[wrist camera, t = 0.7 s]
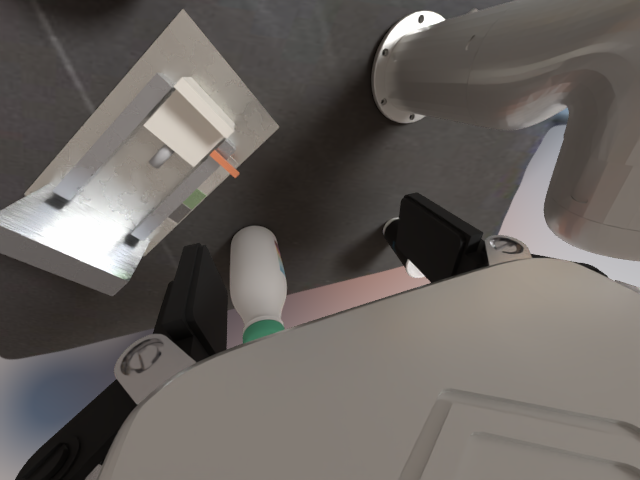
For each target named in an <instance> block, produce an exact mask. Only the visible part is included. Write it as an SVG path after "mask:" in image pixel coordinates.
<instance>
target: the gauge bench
mask: <svg viewBox="0 0 640 480" xmlns="http://www.w3.org/2000/svg"><path fill="white" fill-rule="evenodd" d="M182 77H192V78H193V79H194V80H195V82H196V83H197V84H198V85H199V86H200V87H201V88H202V89H203V90H204V91H205V92H206V93H207V94H208V95H209V96H210V98H211V99H212V100H213V101H214V102H215V103H216V104H217V105H218V106H219V107H220V108H221V109H222V110H223V111H224V113H225V114H226V115H227V116H228V117H229V118H230V119H231V120H232V121H233V122H234V123H235V126H234V132H233V133H232V134H231V135H230V136H229V137H228V138H227V139H226V138H225V137H224V138H223V139H222V140H221V141H220V142H219V143H218V144H217V145H216V146H215V147H214V148H213V149H212V150H211V151H210V152H209V153H208V154H207V155H206V156H205V157H204V158H203V159H202V160H201V161H200V162H199V163H198V164H197V165H196V166H195V167H193V166H192V165H190V164H189V163H188V162H187V161H186V160H184V159H183V158H182V157H181V156H179V155H178V154H177V153H176V152H174V153H173V154H172V155H171V156H170V157H169V158H168V159H167V160H166V161H165V162H164V163H163V165H162V166H161V167H160V168H159V169H157V168H154V167H153V166H152V165H150V163H149V160H150V159H151V158H152V157H153V156H154V155H155V154H156V153H157V152H158V151H159V150H160V149H161V148H162V147H163V146H164V145H165V143H164V142H163V141H161V140H160V139H159V138H158V137H156V136H155V135H154V134H153V133H152V132H150V131H149V130H148V129H147V128H146V127H144V126H143V125H144V124H145V123H146V122H147V121H148V120H149V119H150V118H151V117H152V115H153V114H154V113H155V112H156V111H157V110H158V109H159V108H160V107H161V106H162V105H163V103H164V102H165V101H166V100H167V99H168V98H169V97H170V96H171V95H172V94H173V92H174V91H175V90H176V89H175V88H174V85H175V84H176V83H177V82H178V81H179V80H180V79H181V78H182ZM278 128H279V126H278V125H277V123H276V122H275V121H274V120H273V119H272V117H271V116H270V115H269V114H268V112H267V111H266V110H265V109H264V107H263V106H262V105H261V104H260V103H259V101H258V100H257V99H256V98H255V96H254V95H253V94H252V93H251V92H250V90H249V89H248V88H247V87H246V85H245V84H244V83H243V82H242V81H241V79H240V78H239V77H238V76H237V74H236V73H235V72H234V71H233V69H232V68H231V67H230V66H229V65H228V63H227V62H226V61H225V60H224V58H223V57H222V56H221V55H220V54H219V52H218V51H217V50H216V49H215V47H214V46H213V45H212V44H211V42H210V41H209V40H208V39H207V38H206V36H205V35H204V34H203V33H202V31H201V30H200V29H199V28H198V27H197V25H196V24H195V23H194V22H193V20H192V19H191V18H190V17H189V16H188V14H187V13H186V12H185V11H184V9H182V10H181V12H180V13H179V14H178V15H177V16H176V17H175V19H174V20H173V21H172V22H171V23H170V24H169V26H168V27H167V28H166V29H165V30H164V31H163V33H162V34H161V35H160V36H159V37H158V38H157V40H156V41H155V42H154V43H153V44H152V45H151V47H150V48H149V49H148V50H147V51H146V52H145V54H144V55H143V56H142V57H141V58H140V59H139V61H138V62H137V63H136V64H135V65H134V66H133V68H132V69H131V70H130V71H129V72H128V73H127V75H126V76H125V77H124V78H123V79H122V80H121V82H120V83H119V84H118V85H117V86H116V87H115V89H114V90H113V91H112V92H111V93H110V94H109V96H108V97H107V98H106V99H105V100H104V101H103V103H102V104H101V105H100V106H99V107H98V108H97V110H96V111H95V112H94V113H93V114H92V115H91V117H90V118H89V119H88V120H87V121H86V122H85V124H84V125H83V126H82V127H81V128H80V129H79V131H78V132H77V133H76V134H75V135H74V136H73V138H72V139H71V140H70V141H69V142H68V143H67V145H66V146H65V147H64V148H63V149H62V150H61V152H60V153H59V154H58V155H57V156H56V157H55V159H54V160H53V161H52V162H51V163H50V164H49V166H48V167H47V168H46V169H45V170H44V171H43V173H42V174H41V175H40V176H39V177H38V178H37V180H36V181H35V182H34V183H33V184H32V185H31V187H30V188H29V189H28V190H27V191H26V192H25V194H24V195H26V197H24V198H22V199H21V200H19V201H17V202H15V203H13V204H12V205H10V206H8V207H6V208H4V209H3V210H1V211H0V253H1V254H4V255H7V256H9V257H12V258H14V259H17V260H19V261H22V262H25V263H27V264H30V265H32V266H35V267H38V268H40V269H43V270H45V271H48V272H51V273H53V274H56V275H58V276H61V277H63V278H66V279H69V280H71V281H74V282H76V283H79V284H82V285H84V286H87V287H89V288H92V289H95V290H97V291H100V292H102V293H105V294H108V295H110V296H114V295H115V294H116V293H117V292H118V291H119V290H120V289H121V288H122V287H123V286H125V285H126V284H127V283H128V282H129V280H130V278H131V276H132V274H133V273H134V271H135V269H136V267H137V265H138V263H139V261H140V259H141V258H142V256H145V255H146V254H147V253H148V252H149V251H151V250H152V249H153V248H154V247H155V246H156V245H157V244H158V243H159V242H160V241H161V240H162V239H163V238H164V237H165V236H166V235H167V234H168V233H169V232H170V231H171V230H172V229H174V228H175V227H176V226H177V225H178V224H179V223H180V222H181V221H182V220H183V219H184V218H185V217H186V216H187V215H188V214H189V213H190V212H191V211H192V210H193V209H194V208H195V207H197V206H198V205H199V204H200V203H201V202H202V201H203V200H204V199H205V198H206V197H207V196H208V195H209V194H210V193H211V192H212V191H213V190H214V189H215V188H216V187H217V186H219V185H220V184H221V183H222V182H223V181H224V180H225V179H226V178H227V177H228V176H229V175H230V173H229V172H228V171H227V170H225V169H224V168H223V167H222V166H221V165H220V164H219V163H218V162H217V161H215V160H214V159H213V158H212V157H211V156H210V153H211V152H212V151H213V150H214V149H215V150H216V151H217V152H218V153H219V154H220V155H221V156H222V157H223V158H224V159H226V160H227V161H228V162H229V163H230V164H231V165H232V166H233V167H234V168H235V169H236V168H237V167H238V166H239V165H240V164H242V163H243V162H244V161H245V160H246V159H247V158H248V157H249V156H250V155H251V154H252V153H253V152H254V151H255V150H256V149H257V148H258V147H259V146H260V145H261V144H262V143H263V142H265V141H266V140H267V139H268V138H269V137H270V136H271V135H272V134H273V133H274V132H275V131H276V130H277V129H278Z"/></svg>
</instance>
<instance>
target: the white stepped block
mask: <svg viewBox="0 0 640 480" xmlns="http://www.w3.org/2000/svg"><path fill="white" fill-rule="evenodd" d="M174 88H175V89H176V90H175V91H174V92H173V94H172V95H171V96H170V97H169V98H168V99H167V100H166V101H165V102H164V103H163V105H162V106H161V107H160V108H159V109H158V110H157V111H156V112H155V113H154V114H153V115H152V117H151V118H150V119H149V120H148V121H147V122H146V123H145V124H144V125H143V126H144V127H146V128H147V129H148V130H149V131H150V132H152V133H153V134H154V135H155V136H156V137H158V138H159V139H160V140H161V141H163V142H164V143H165V145H164V146H163V147H162V148H161V149H160V150H159V151H158V152H157V153H156V154H155V155H154V156H153V157H152V158H151V159H150V160H149V163H150V165H152V166H153V167H154V168H157V169H159V168H160V167H161V166H162V165H163V163H164V162H165V161H166V160H167V159H168V158H169V157H170V156H171V155H172V154H173V153H174V152H176V153H177V154H178V155H179V156H181V157H182V158H183V159H184V160H186V161H187V162H188V163H189V164H190V165H192V166H193V167H195V166H196V165H197V164H198V163H199V162H200V161H201V160H202V159H203V158H204V157H205V156H206V155H207V154H208V153H209V152H210V151H211V150H212V149H213V148H214V147H215V146H216V145H217V144H218V143H219V142H220V141H221V140H222V139H223V138H224V137H225V138H226V139H227V138H228V137H229V136H230V135H231V134H232V133H233V132H234V126H235V123H234V122H233V121H232V120H231V119H230V118H229V117H228V116H227V115H226V114H225V113H224V111H223V110H222V109H221V108H220V107H219V106H218V105H217V104H216V103H215V102H214V101H213V100H212V99H211V98H210V96H209V95H208V94H207V93H206V92H205V91H204V90H203V89H202V88H201V87H200V86H199V85H198V84H197V83H196V82H195V80H194V79H193V78H192V77H182V78H181V79H180V80H179V81H178V82H177V83H176V84H175V85H174ZM210 156H211V157H212V158H213V159H214V160H215V161H217V162H218V163H219V164H220V165H221V166H222V167H223V168H224V169H225V170H227V171H228V172H229V173H230V174H231V175H232V176H233V177H234V178H236V177H237V176H238V175H239V172H238V171H237V170H236V169H235V168H234V167H233V166H232V165H231V164H230V163H229V162H228V161H227V160H226V159H224V158H223V157H222V156H221V155H220V154H219V153H218V152H217V151H216V150H215V149H214V150H213V151H212V152H211V153H210Z"/></svg>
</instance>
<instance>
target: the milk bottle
mask: <svg viewBox="0 0 640 480" xmlns="http://www.w3.org/2000/svg"><path fill="white" fill-rule="evenodd" d="M230 294H231V299H232V303H233V305H234V307H235V309H236V311H237V312H238V313H239V315H240V316H241V318H242V320H243V322H244V325H245V326H244V329H243V344H244V343H247V342H249V341H252V340H255V339H258V338H261V337H264V336H267V335H270V334H273V333H276V332H279V331H282V330H285V329H284V324H283V321H282V320H281V312H282V308H283V306H284V303H285V300H286V295H287V283H286V277H285V272H284V268H283V264H282V259H281V255H280V251H279V247H278V243H277V240H276V237H275V235H274V234H273V233H272V232H271V231H270V230H268V229H267V228H264V227H262V226H248V227H245V228H243V229H241V230H240V231H238V232H237V233H236V234H235V235H234V237H233V239H232V242H231V255H230Z"/></svg>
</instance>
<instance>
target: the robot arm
mask: <svg viewBox="0 0 640 480" xmlns="http://www.w3.org/2000/svg"><path fill="white" fill-rule="evenodd" d="M382 51H383V55H382ZM371 85H372V93H373V97H374V100H375V103H376V105H377V107H378V109H379V110H380V111H381V113H382V114H383V115H384V116H385V117H387V118H388V119H390V120H392V121H395V122H398V123H412V122H415V121H418V120H420V119H422V118H424V117H425V116H429V117H434V118H439V119H444V120H449V121H454V122H460V123H465V124H470V125H475V126H480V127H485V128H490V129H496V130H516V129H522V128H526V127H529V126H532V125H534V124H537V123H539V122H541V121H543V120H545V119H547V118H549V117H551V116H553V115H555V114H557V113H559V112H560V111H562V110H564V109H566V108H567V107H568V110H569V118H568V122H567V126H566V130H565V133H564V140H563V143H562V146H561V149H560V153H559V156H558V159H557V162H556V165H555V168H554V171H553V175H552V178H551V181H550V184H549V188H548V191H547V194H546V198H545V203H544V217H545V220H546V223H547V225H548V227H549V228H550V229H551V231H552V232H553V233H554V234H555V235H556V236H558V237H559V238H560V239H562V240H563V241H565V242H567V243H568V244H570V245H572V246H575V247H577V248H580V249H583V250H585V251H588V252H592V253H595V254H599V255H603V256H608V257H613V258H618V259H625V260H632V261H640V0H515V1H511V2H508V3H504V4H501V5H497V6H494V7H490V8H486V9H483V10H479V11H478V10H477V9H475V8H473V9H472V10H471V11H470V12H469V13H468V14H465V15H461V16H458V17H454V18H451V19H447V20H445V19H444V18H443V17H442V16H441V15H440V14H437V13H435V12H433V11H425V10H423V11H418V12H414V13H411V14H409V15H406V16H405V17H403V18H402V19H400V20H398V21H397V22H396V23H395V24H394V25H393V26H392V27H391V28H390V29H389V31H388V32H387V33H386V35H385V36H384V38H383V39H382V41H381V43H380V45H379V47H378V50H377V52H376V55H375V58H374V62H373V67H372V75H371ZM381 100H382V103H381ZM482 235H483V232H481V231H480V230H478V229H476V228H475V227H473V226H471V225H470V224H468V223H467V222H465V221H463V220H462V219H460V218H458V217H457V216H455V215H453V214H452V213H450V212H449V211H447V210H445V209H444V208H442V207H440V206H439V205H437V204H435V203H434V202H432V201H430V200H429V199H427V198H426V197H424V196H422V195H421V194H419V193H412V194H408V195H405V196H404V198H403V199H402V200H401V205H400V214H399V223H398V231H397V240H396V245H397V248H398V249H399V250H400V251H401V252H402V253H403V254H404V255H405V256H406V257H407V258H408V259H409V260H410V261H411V262H412V263H413V264H414V265H415V267H416V268H417V269H418V270H419V271H420V272H421V273H422V274H423V275H424V276H425V277H426V278H427V279H428V280H430V282H431V283H430V284H426V285H423V286H420V287H417V288H413V289H410V290H407V291H404V292H401V293H398V294H395V295H392V296H388V297H385V298H382V299H379V300H375V301H372V302H369V303H366V304H363V305H360V306H357V307H353V308H351V309H347V310H344V311H341V312H338V313H335V314H332V315H328V316H325V317H322V318H319V319H316V320H313V321H310V322H307V323H304V324H301V325H297V326H294V327H291V328H289V329H285V330H282V331H279V332H276V333H273V334H270V335H267V336H264V337H261V338H258V339H255V340H252V341H249V342H247V343H244V344H241V345H238V346H235V347H233V348H230V349H227V350H226V344H227V304H228V295H227V290H226V288H225V285H224V283H223V281H222V279H221V277H220V275H219V272H218V270H217V268H216V266H215V264H214V262H213V260H212V257H211V255H210V253H209V251H208V249H207V247H206V246H205V245H203V246H201V244H200V243H197V244H193V245H188V246H185V247H184V248H183V252H182V255H181V259H180V262H179V266H178V269H177V272H176V276H175V279H174V281H171V282H170V283H169V285H168V287H167V290H166V294H165V297H164V300H163V303H162V306H161V309H160V313H159V316H158V319H157V322H156V325H155V329H154V332H153V334H152V335H148V336H145V337H143V338H141V339H139V340H138V341H136V342H135V343H133V344H132V345H130V346H129V347H128V348H127V349H126V350H125V351H124V352H123V353H122V355H121V356H120V357H119V358H118V360H117V363H116V365H115V369H114V374H115V377H116V380H115V381H114V382H113V383H112V384H111V385H109V386H108V387H107V388H106V389H105V390H104V391H103V392H102V393H101V394H100V395H98V396H97V397H96V398H95V399H94V400H93V401H92V402H91V403H89V404H88V405H87V406H86V407H85V408H84V409H83V410H82V411H81V412H80V413H78V414H77V415H76V416H75V417H74V418H73V419H72V420H71V421H69V423H67V424H66V425H65V426H64V427H63V428H62V429H61V430H59V431H58V432H57V433H56V434H55V435H54V436H53V437H52V438H50V439H49V440H48V441H47V442H46V443H45V444H44V445H43V446H42V447H41V448H39V449H38V451H36V453H35V454H34V455H33V456H32V457H31V458H30V459H29V460H28V461H27V462H26V464H25V465H24V466H23V468H22V469H21V470H20V472H19V474H18V475H17V477H16V479H15V480H640V288H639V287H636V286H632V285H629V284H626V283H623V282H620V281H617V280H615V281H613V280H611V279H609V278H608V277H607V275H605V274H604V273H603V272H601V271H599V270H598V269H597V268H595V267H593V266H591V265H588V264H585V263H577V262H572V261H567V260H561V259H556V258H550V257H545V256H540V255H534V254H530V251H529V249H528V247H527V246H526V245H525V244H524V243H522V242H521V241H519V240H517V239H515V238H512V237H508V236H503V235H493V236H489V237H487V238H486V239H485V241H483V240H482V239H481V238H482Z"/></svg>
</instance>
